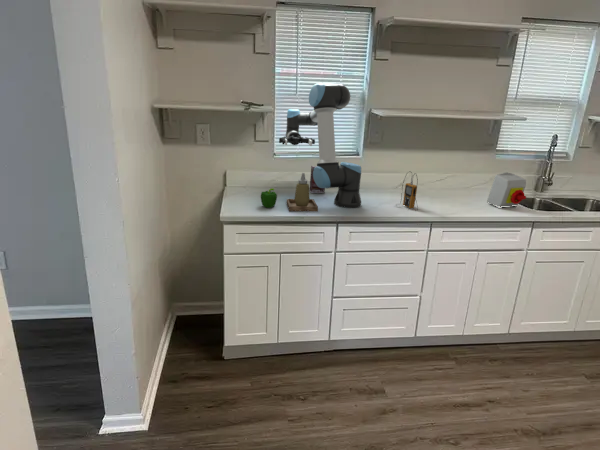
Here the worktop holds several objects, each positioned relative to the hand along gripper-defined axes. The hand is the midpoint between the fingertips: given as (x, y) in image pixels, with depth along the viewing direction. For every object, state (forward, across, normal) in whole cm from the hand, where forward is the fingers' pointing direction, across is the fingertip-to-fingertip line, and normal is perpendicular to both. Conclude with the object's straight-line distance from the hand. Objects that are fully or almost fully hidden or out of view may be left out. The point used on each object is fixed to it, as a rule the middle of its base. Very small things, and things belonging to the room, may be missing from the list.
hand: (298, 143), depth 228 cm
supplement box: (-18, -15, -32) cm, 40 cm away
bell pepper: (+14, +17, -32) cm, 39 cm away
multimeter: (+13, -59, -32) cm, 68 cm away
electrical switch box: (+10, -123, -32) cm, 128 cm away
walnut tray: (+15, -1, -32) cm, 35 cm away
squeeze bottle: (+15, -1, -32) cm, 35 cm away
